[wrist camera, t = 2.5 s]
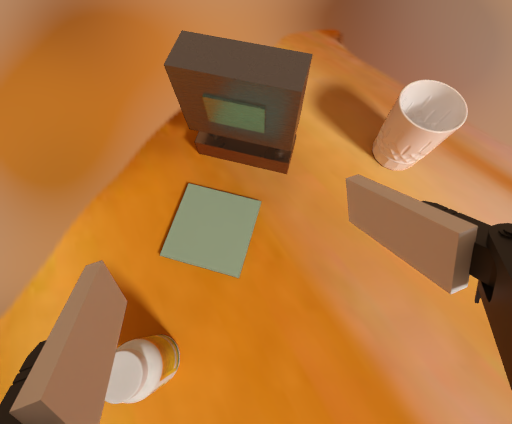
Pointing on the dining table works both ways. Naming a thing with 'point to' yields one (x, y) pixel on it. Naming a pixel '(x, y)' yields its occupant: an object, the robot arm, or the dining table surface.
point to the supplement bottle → (142, 368)
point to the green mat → (212, 230)
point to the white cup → (418, 123)
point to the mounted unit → (240, 97)
